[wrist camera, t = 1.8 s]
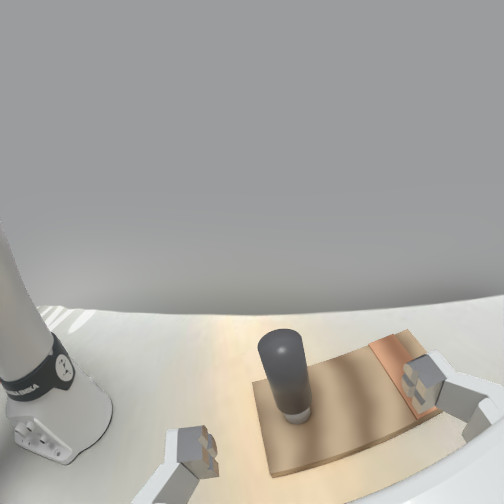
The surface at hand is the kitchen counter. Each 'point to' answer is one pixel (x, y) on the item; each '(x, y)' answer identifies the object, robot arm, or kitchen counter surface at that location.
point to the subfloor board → (343, 407)
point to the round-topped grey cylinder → (287, 373)
